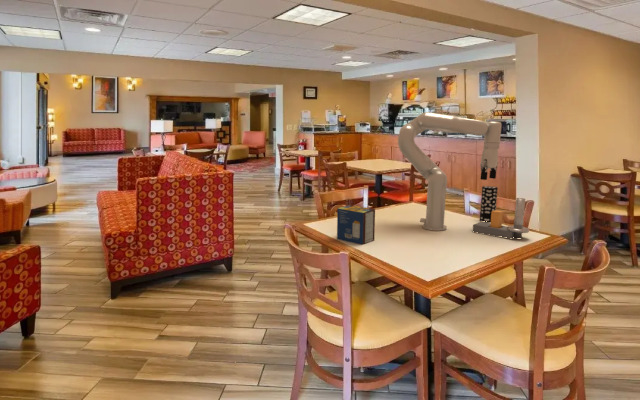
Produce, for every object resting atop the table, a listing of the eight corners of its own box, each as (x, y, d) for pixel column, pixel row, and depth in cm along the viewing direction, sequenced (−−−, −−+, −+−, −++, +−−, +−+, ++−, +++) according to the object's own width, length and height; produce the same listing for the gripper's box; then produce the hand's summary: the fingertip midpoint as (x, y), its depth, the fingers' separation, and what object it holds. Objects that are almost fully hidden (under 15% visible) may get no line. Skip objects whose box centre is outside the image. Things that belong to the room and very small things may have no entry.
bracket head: (472, 231, 221) (473, 224, 221) (480, 229, 228) (480, 221, 227) (511, 239, 207) (512, 231, 207) (518, 236, 214) (519, 228, 213)
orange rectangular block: (489, 234, 217) (491, 211, 215) (493, 232, 220) (495, 210, 218) (497, 235, 215) (499, 212, 212) (500, 234, 217) (502, 211, 215)
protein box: (348, 234, 214) (349, 204, 211) (374, 240, 204) (375, 208, 201) (336, 239, 206) (336, 207, 203) (362, 245, 196) (363, 212, 193)
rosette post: (502, 238, 210) (506, 198, 206) (510, 234, 217) (514, 196, 213) (523, 242, 203) (527, 201, 199) (531, 238, 210) (535, 198, 206)
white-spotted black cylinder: (488, 219, 252) (490, 185, 248) (498, 222, 244) (500, 187, 240) (476, 220, 249) (479, 186, 246) (486, 223, 241) (489, 188, 238)
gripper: (492, 145, 225) (488, 177, 229) (476, 145, 214) (473, 179, 217) (506, 146, 220) (502, 178, 223) (490, 146, 208) (487, 181, 212)
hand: (488, 179), depth 220 cm, fingers open, 9 cm apart
